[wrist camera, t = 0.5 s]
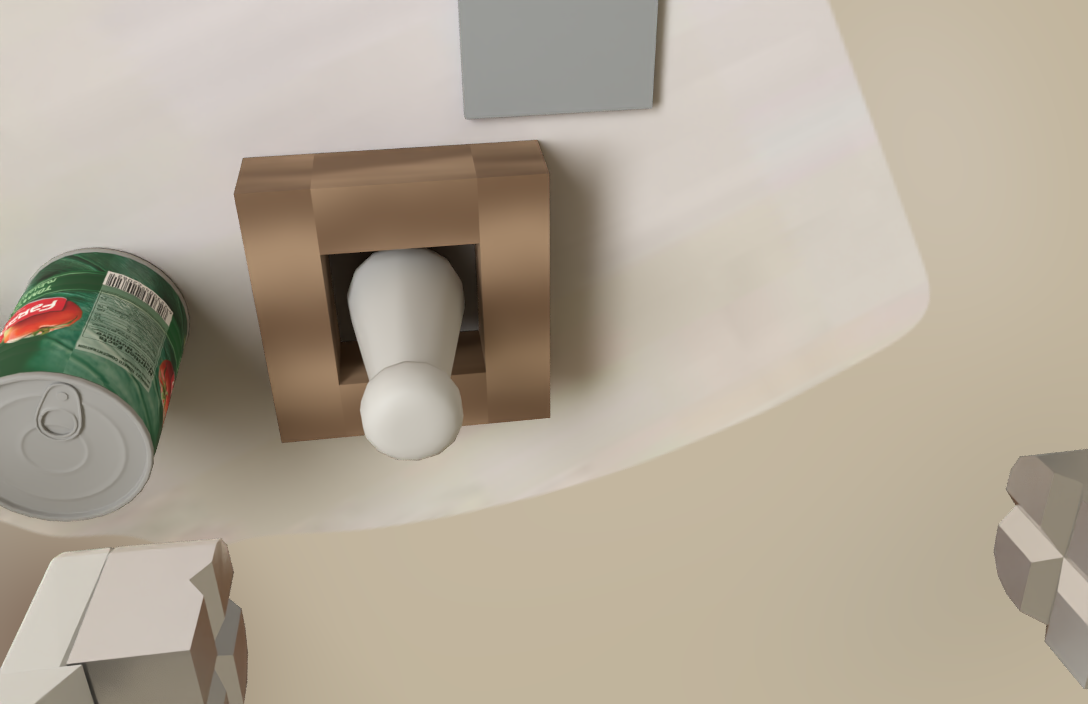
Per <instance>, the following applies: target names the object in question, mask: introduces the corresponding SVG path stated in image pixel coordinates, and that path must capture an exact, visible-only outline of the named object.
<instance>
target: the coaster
mask: <svg viewBox="0 0 1088 704" xmlns="http://www.w3.org/2000/svg"><path fill="white" fill-rule="evenodd" d="M458 9H459V28H460V47H461V66H462V85H463V105H464V117H465V119H478V118H495V117H512V116H529V115H546V114H563V113H580V112H598V111H615V110H632V109H649V108H652V102H653V85H654V67H655V49H656V31H657V13H658V0H458Z"/></svg>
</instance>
